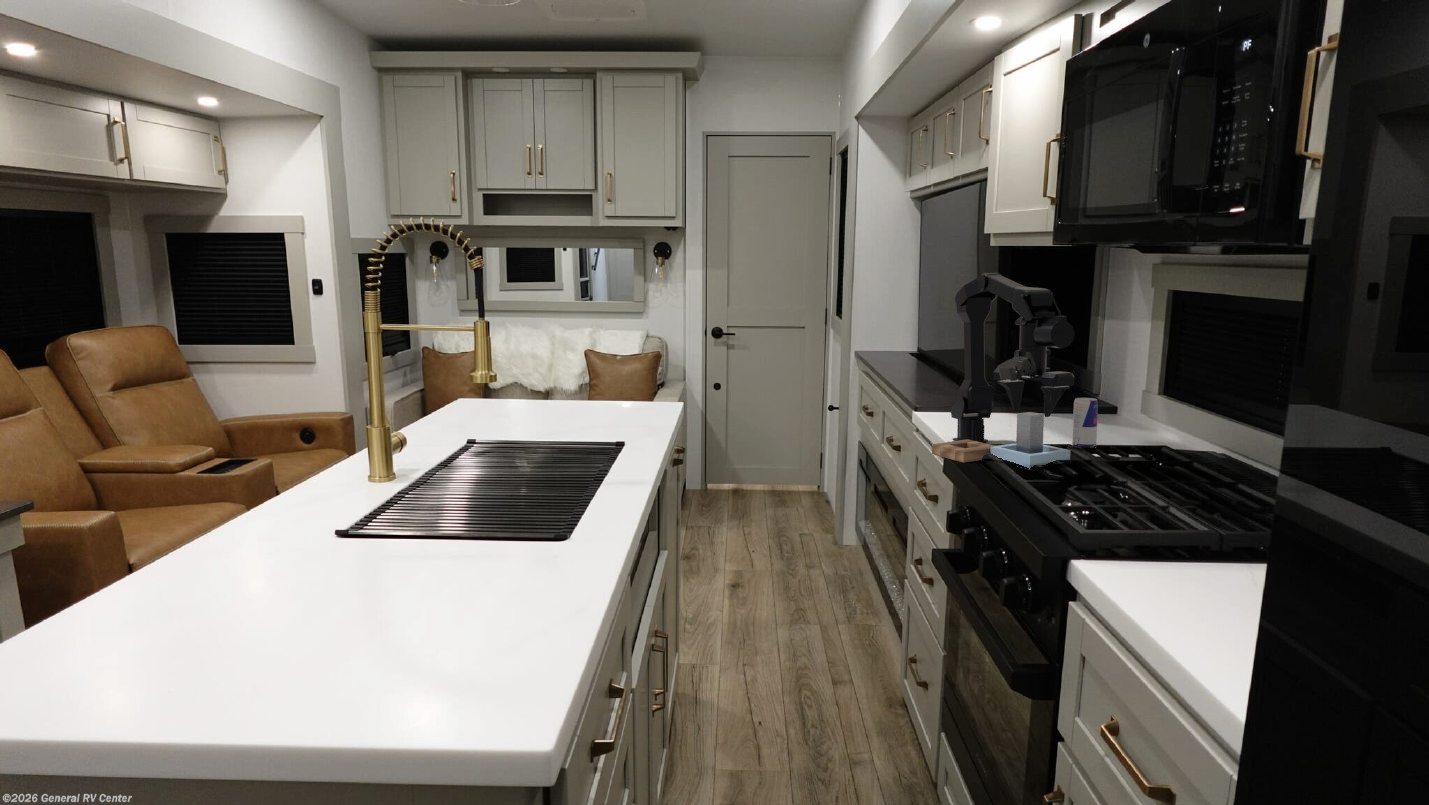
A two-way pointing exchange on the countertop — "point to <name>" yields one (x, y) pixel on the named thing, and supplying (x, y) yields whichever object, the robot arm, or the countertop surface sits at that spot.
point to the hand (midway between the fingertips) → (1031, 414)
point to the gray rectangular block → (1030, 432)
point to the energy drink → (1085, 422)
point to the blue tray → (1030, 455)
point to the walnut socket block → (961, 450)
